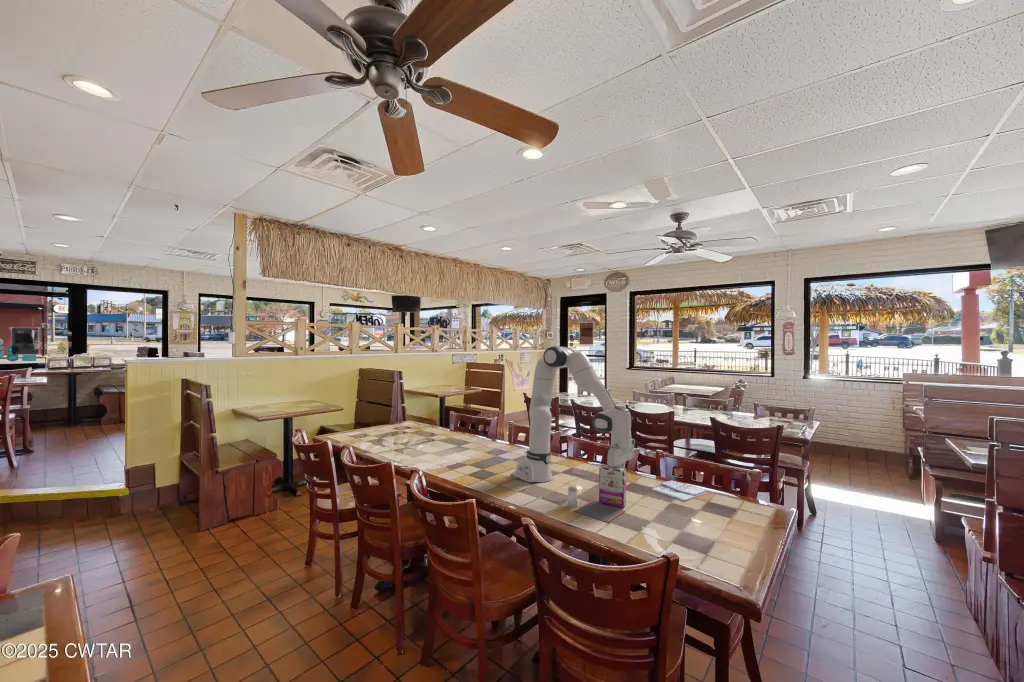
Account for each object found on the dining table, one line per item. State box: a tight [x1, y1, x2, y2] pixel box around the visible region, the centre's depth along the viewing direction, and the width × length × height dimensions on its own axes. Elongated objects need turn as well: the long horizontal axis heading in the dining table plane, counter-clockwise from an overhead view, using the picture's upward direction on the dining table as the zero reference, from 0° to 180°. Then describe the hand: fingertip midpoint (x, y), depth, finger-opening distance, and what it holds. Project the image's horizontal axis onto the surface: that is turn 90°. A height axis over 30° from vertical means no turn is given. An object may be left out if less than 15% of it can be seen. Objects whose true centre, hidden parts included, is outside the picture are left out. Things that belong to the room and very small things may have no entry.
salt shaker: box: [567, 486, 578, 509], centre depth 179 cm, size 4×4×8 cm
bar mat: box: [574, 500, 626, 524], centre depth 173 cm, size 16×15×1 cm
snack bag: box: [650, 480, 708, 503], centre depth 198 cm, size 19×20×2 cm
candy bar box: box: [598, 464, 627, 509], centre depth 181 cm, size 11×5×16 cm, turn 61°
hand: (620, 471), depth 187 cm, fingers closed
